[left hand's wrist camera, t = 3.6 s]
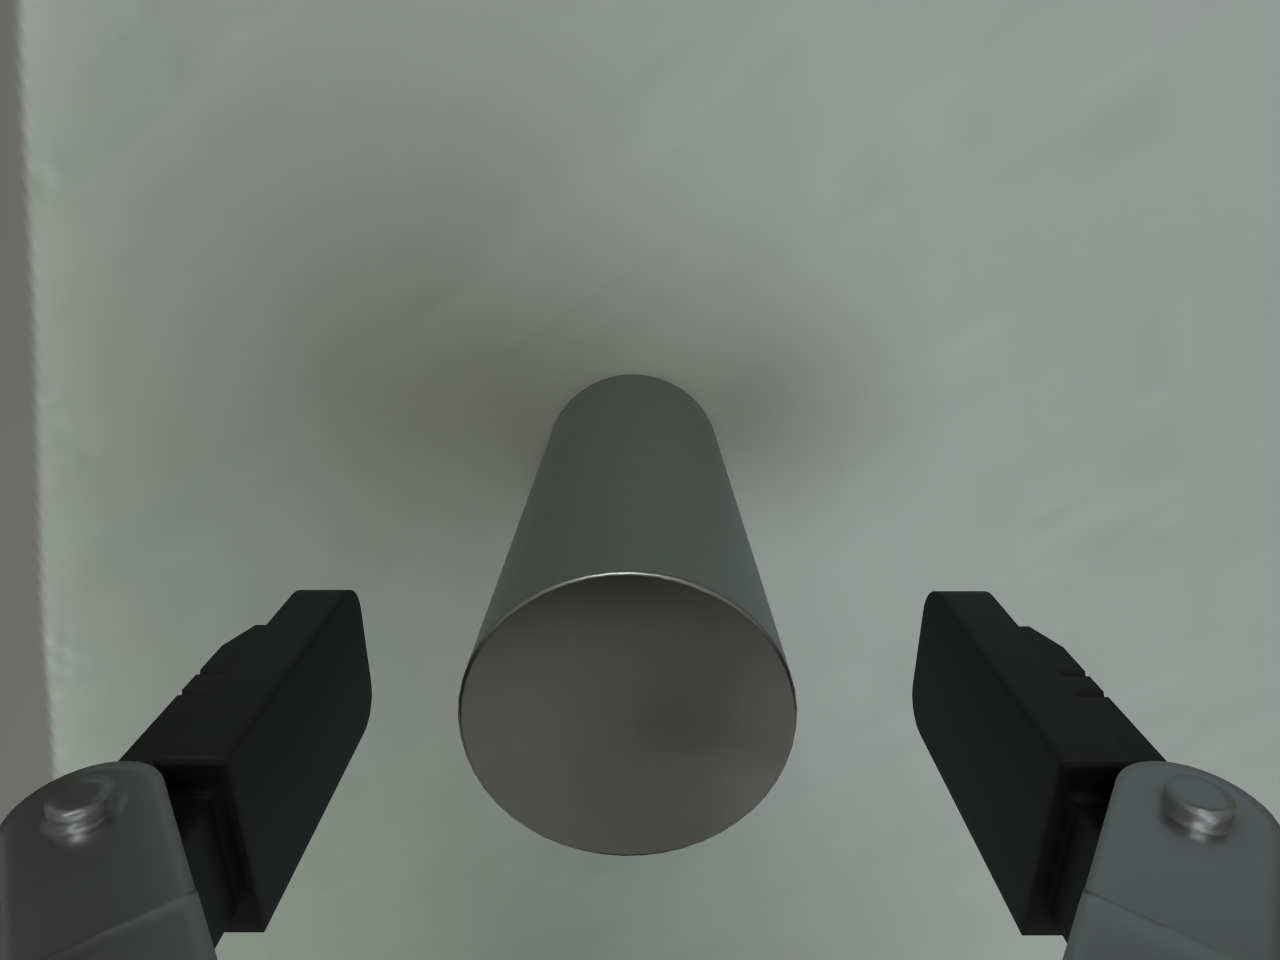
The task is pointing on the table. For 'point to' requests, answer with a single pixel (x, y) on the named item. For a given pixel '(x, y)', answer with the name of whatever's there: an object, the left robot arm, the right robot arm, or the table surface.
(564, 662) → the can
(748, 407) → the table surface
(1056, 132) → the table surface
